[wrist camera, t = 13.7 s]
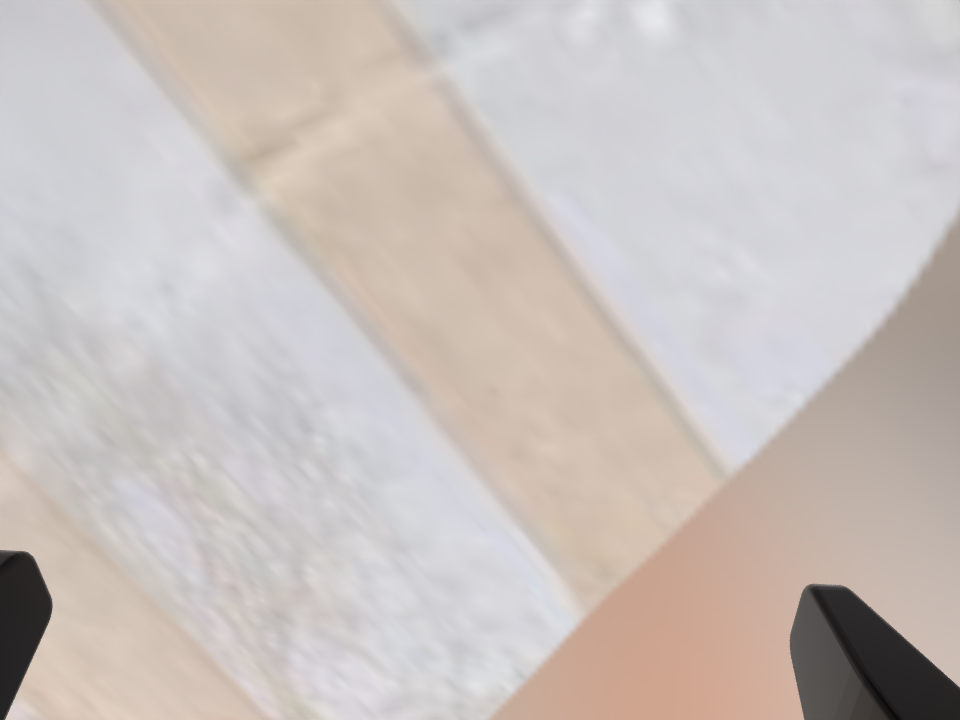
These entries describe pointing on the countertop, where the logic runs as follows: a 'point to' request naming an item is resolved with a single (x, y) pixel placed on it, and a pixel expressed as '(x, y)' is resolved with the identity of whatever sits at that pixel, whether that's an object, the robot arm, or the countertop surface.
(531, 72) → the countertop surface
